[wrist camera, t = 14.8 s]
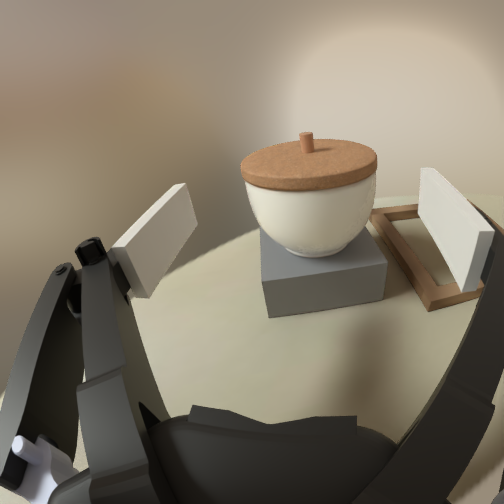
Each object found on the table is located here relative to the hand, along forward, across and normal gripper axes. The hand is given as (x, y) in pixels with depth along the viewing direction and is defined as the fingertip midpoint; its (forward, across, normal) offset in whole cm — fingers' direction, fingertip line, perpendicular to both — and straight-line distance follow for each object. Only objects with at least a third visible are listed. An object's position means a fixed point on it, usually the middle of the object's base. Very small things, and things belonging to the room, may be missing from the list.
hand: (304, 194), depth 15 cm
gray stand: (+8, 0, -12) cm, 14 cm away
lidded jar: (+8, 0, -8) cm, 11 cm away
